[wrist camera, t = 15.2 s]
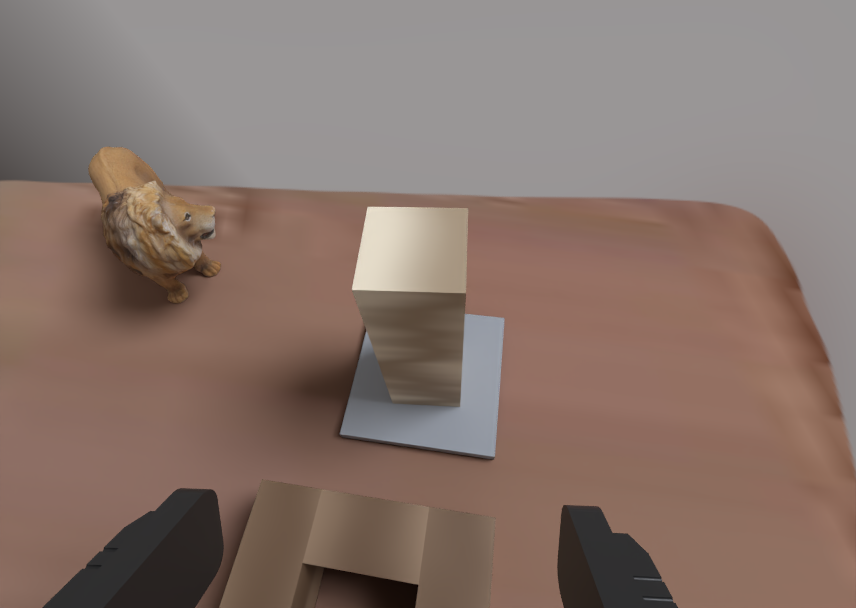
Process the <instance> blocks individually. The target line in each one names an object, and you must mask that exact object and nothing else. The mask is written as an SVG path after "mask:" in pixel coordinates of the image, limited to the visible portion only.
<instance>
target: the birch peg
mask: <svg viewBox="0 0 856 608" xmlns="http://www.w3.org/2000/svg"><path fill="white" fill-rule="evenodd" d="M467 229H468V208H415V207H368V209H367V214H366V219H365V224H364V230H363V235H362V240H361V245H360V250H359V256H358V261H357V266H356V271H355V276H354V282H353V287H352V292H353V294H354V297H355V300H356V303H357V305H358V308H359V311H360V314H361V316H362V319H363V322H364V325H365V328H366V330H367V333H368V336H369V339H370V341H371V344H372V347H373V350H374V353H375V355H376V358H377V361H378V364H379V366H380V369H381V372H382V375H383V378H384V380H385V383H386V386H387V389H388V391H389V394H390V397H391V400H392V403H393V404H412V405H432V406H452V407H460V400H461V381H462V361H463V341H464V321H465V302H466V270H467Z"/></svg>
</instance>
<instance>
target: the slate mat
mask: <svg viewBox="0 0 856 608" xmlns="http://www.w3.org/2000/svg"><path fill="white" fill-rule="evenodd" d="M503 331H504V318H499V317H489V316H480V315H471V314H465V321H464V341H463V361H462V381H461V400H460V407H452V406H432V405H412V404H393V403H392V400H391V397H390V394H389V391H388V389H387V386H386V383H385V380H384V378H383V375H382V372H381V369H380V366H379V364H378V361H377V358H376V355H375V353H374V350H373V347H372V344H371V341H370V339H369V336H368V333H367V330H366V334H365V338H364V342H363V346H362V350H361V354H360V358H359V361H358V365H357V369H356V373H355V377H354V381H353V385H352V388H351V392H350V396H349V400H348V404H347V408H346V412H345V416H344V419H343V423H342V427H341V431H340V435H341V436H342V437H345V438H351V439H358V440H365V441H372V442H379V443H385V444H392V445H399V446H406V447H412V448H419V449H426V450H433V451H440V452H446V453H453V454H460V455H467V456H473V457H480V458H487V459H494V458H495V446H496V432H497V418H498V403H499V389H500V375H501V360H502V346H503Z"/></svg>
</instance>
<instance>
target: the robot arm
mask: <svg viewBox="0 0 856 608" xmlns="http://www.w3.org/2000/svg"><path fill="white" fill-rule="evenodd" d="M223 549H224V545H223V536H222V529H221V521H220V514H219V506H218V499H217V495H216V493H215V491H214V490H211V489H186V488H180V489H177V490H176V491H174V492H173V493H172V494H171V495H170V496H169V497H168V498H167V499H166V500H165V501H164V502H163V503H162V504H161V505H160V506H159V507H158V509H157V510H156V511H150V512H148V513H147V514H145V515H143V516H142V517H140V518H139V519H137V520H136V521H134V522H132V523H131V524H129V525H128V526H126V527H124V528H123V529H122V530H121V531H120V532H119V533H118V534H117V535H116V536H115V537H114V538H113V539H112V540H111V541H110V542H109V543H108V544H107V545H106V546H105V547H104V550H103V552H99V553H98V554H97V555H96V556H95V557H94V558H93V559H92V560H91V561H90V562H89V563H88V564H87V566H86V568H85V569H81V570H80V571H79V572H78V573H77V574H76V575H75V576H74V577H73V578H72V579H71V580H70V581H69V582H68V583H67V584H66V585H65V586H64V587H63V588H62V589H61V590H60V591H59V592H58V593H57V594H56V595H55V596H54V597H53V598H52V599H51V600H50V601H49V602H48V603H47V604H46V605H45V606H44V607H43V608H195V607H196V605H197V604H198V602H199V600H200V599H201V597H202V596H203V594H204V593H205V591H206V590H207V588H208V587H209V585H210V583H211V582H212V580H213V579H214V577H215V576H216V574H217V572H218V569H219V567H220V564H221V561H222V556H223ZM557 568H558V582H559V589H560V594H561V598H562V602H563V606H564V608H678V607H677V605H676V603H673V599H672V596H671V594H670V592H669V590H668V589H667V587H666V585H665V583H664V582H662V580H661V576H660V574H659V572H658V570H657V569H656V567H655V565H654V563H653V561H652V559H651V558H650V556H649V554H648V553H647V552H646V551H645V550H644V549H643V548H642V547H641V546H640V545H639V544H638V543H637V542H636V541H635V540H634V539H633V538H632V537H630V536H629V535H628V534H623V533H612V531H611V529H610V527H609V525H608V523H607V520H606V518H605V516H604V514H603V512H602V510H601V509H600V508H599V507H597V506H574V505H564V506H563V508H562V513H561V525H560V538H559V550H558V567H557Z"/></svg>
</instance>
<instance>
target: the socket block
mask: <svg viewBox="0 0 856 608" xmlns="http://www.w3.org/2000/svg"><path fill="white" fill-rule="evenodd" d="M495 519H496V518H495V517H489V516H482V515H476V514H470V513H464V512H458V511H452V510H446V509H440V508H434V507H428V506H421V505H415V504H409V503H403V502H397V501H391V500H385V499H379V498H373V497H367V496H360V495H354V494H348V493H342V492H336V491H330V490H324V489H318V488H312V487H306V486H299V485H293V484H287V483H281V482H275V481H269V480H263V479H262V481H261V484H260V487H259V490H258V493H257V496H256V499H255V502H254V505H253V508H252V511H251V514H250V517H249V520H248V523H247V526H246V529H245V532H244V535H243V538H242V541H241V543H240V546H239V549H238V552H237V555H236V558H235V561H234V564H233V567H232V570H231V573H230V576H229V579H228V582H227V585H226V588H225V591H224V594H223V597H222V600H221V603H220V606H219V608H315V605H316V600H317V596H318V592H319V588H320V584H321V579H322V575H323V571H324V567H327V568H332V569H337V570H343V571H348V572H353V573H359V574H364V575H369V576H375V577H380V578H385V579H391V580H396V581H401V582H407V583H412V584H418V592H417V600H416V607H415V608H490V597H491V582H492V566H493V550H494V535H495Z"/></svg>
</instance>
